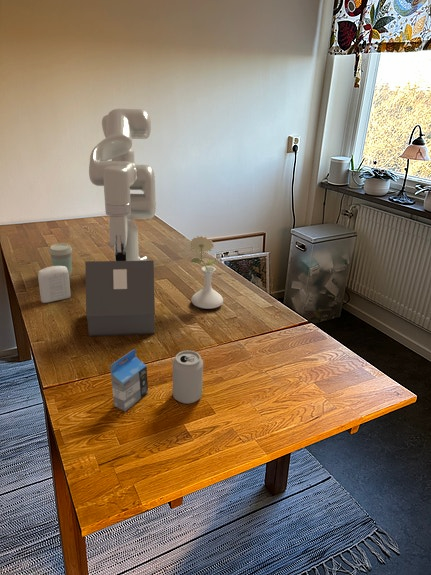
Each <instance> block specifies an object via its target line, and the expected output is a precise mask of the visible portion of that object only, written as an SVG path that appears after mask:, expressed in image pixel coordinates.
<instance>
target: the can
mask: <svg viewBox="0 0 431 575" xmlns="http://www.w3.org/2000/svg"><path fill="white" fill-rule="evenodd" d="M203 373H204V360H203V358H202V357H201V354H199V353H198V352H197V351H193V350H183V351H182V350H181V351H179V352H178V353H177V354H176V355H175V357H174V359H173V360H172V396H173V398H174V399H175V400H176V401H178V402H180V403H182V404H193V403H195V402H197V401H199V400H200V399H201V398H202V396H203V382H204V381H203V379H204V378H203V376H204V374H203Z"/></svg>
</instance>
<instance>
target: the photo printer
mask: <svg viewBox="0 0 431 575" xmlns="http://www.w3.org/2000/svg"><path fill="white" fill-rule="evenodd" d="M37 274H38V275H37V278H38V287H39V294H40V302H41V303H43V304H46V303H52V302H56V301H62V300H66V299H70V298H71V297H72V296H71V287H70V286H71V284H70V277H69V273H68V270H67V267H66V266H53V265H52V266H47V267H44V268H42V269H40V270H38V272H37Z"/></svg>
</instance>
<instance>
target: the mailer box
mask: <svg viewBox="0 0 431 575" xmlns="http://www.w3.org/2000/svg"><path fill="white" fill-rule="evenodd" d="M86 320H87V330H88V337H108V336H109V337H110V336H132V335H133V336H135V335H155V314H150V315H119V316H89V317H86Z"/></svg>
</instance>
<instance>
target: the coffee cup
mask: <svg viewBox="0 0 431 575" xmlns="http://www.w3.org/2000/svg"><path fill="white" fill-rule="evenodd" d="M48 253H49V255H50V258H51V263H52V266H66V267H67V270H68V273H69V278H70V277H71V276H72V253H73V249H72V247H71V245H70V244H67V243H55V244H52V245H50V247H49V250H48Z"/></svg>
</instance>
